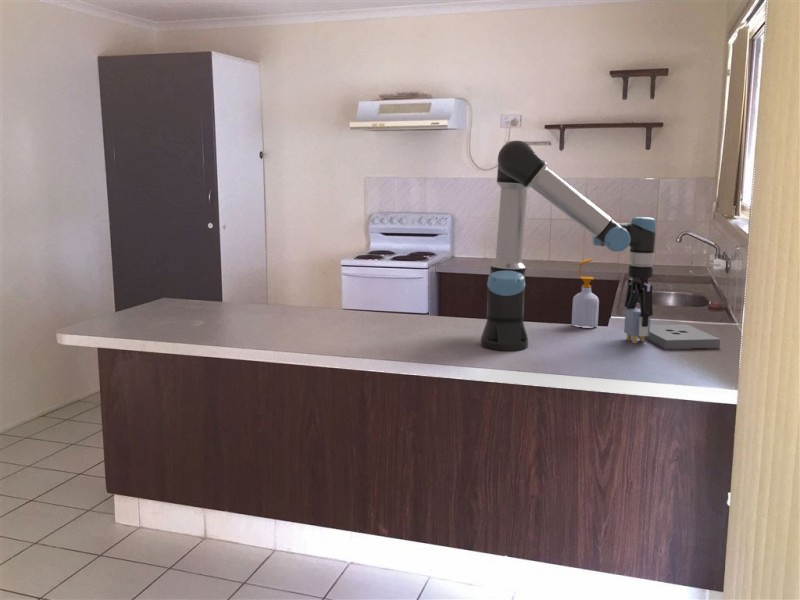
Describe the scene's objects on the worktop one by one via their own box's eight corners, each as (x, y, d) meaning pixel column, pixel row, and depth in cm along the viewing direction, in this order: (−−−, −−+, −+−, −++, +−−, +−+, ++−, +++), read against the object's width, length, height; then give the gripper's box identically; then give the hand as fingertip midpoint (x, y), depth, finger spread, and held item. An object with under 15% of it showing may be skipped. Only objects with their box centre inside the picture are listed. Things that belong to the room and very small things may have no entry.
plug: (630, 343, 239) (633, 312, 238) (623, 339, 245) (625, 308, 243) (648, 343, 240) (650, 311, 238) (640, 339, 246) (642, 308, 244)
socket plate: (665, 349, 232) (666, 340, 232) (636, 333, 254) (637, 325, 253) (719, 348, 234) (720, 339, 234) (686, 332, 256) (686, 324, 255)
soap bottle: (598, 329, 260) (602, 260, 256) (571, 328, 262) (575, 259, 257) (596, 324, 269) (600, 257, 264) (571, 323, 270) (574, 256, 266)
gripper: (667, 269, 228) (662, 340, 232) (638, 260, 249) (633, 325, 253) (644, 269, 227) (639, 340, 231) (616, 260, 248) (612, 325, 252)
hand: (636, 332), depth 242 cm, fingers open, 9 cm apart
